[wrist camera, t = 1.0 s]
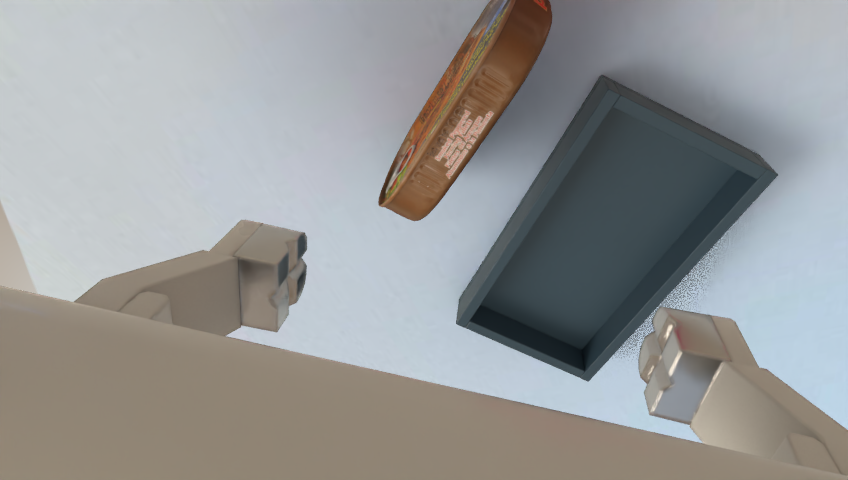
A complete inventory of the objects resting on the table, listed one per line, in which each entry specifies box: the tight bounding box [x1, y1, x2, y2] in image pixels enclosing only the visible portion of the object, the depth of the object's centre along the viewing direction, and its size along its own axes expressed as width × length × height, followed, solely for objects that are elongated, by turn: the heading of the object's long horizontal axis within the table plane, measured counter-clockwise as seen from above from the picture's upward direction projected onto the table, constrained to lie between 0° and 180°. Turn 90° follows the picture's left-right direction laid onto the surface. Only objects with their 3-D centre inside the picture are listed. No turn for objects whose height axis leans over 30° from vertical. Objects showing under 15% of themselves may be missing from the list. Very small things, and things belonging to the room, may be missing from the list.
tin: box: [379, 0, 552, 221], centre depth 32 cm, size 15×3×8 cm, turn 149°
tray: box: [456, 75, 778, 381], centre depth 39 cm, size 12×20×3 cm, turn 156°
